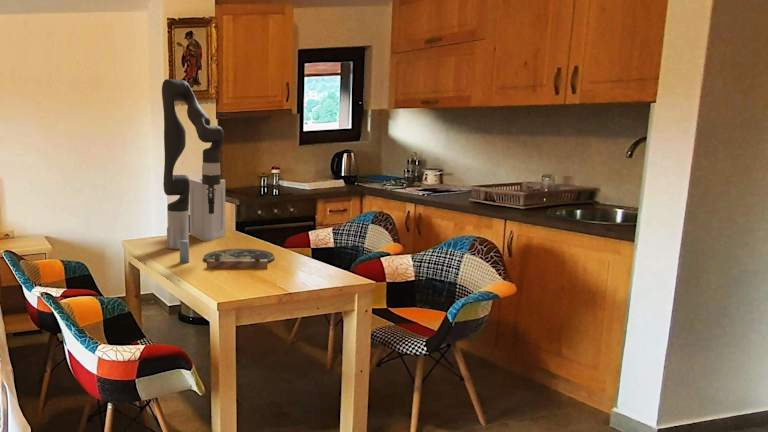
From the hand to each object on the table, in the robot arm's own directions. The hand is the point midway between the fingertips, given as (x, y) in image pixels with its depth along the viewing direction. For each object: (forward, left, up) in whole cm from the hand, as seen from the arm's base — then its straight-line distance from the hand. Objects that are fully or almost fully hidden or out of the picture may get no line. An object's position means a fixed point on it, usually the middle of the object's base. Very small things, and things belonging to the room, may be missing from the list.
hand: (211, 213), depth 293 cm
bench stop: (+12, -20, -19) cm, 30 cm away
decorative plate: (+12, -4, -20) cm, 23 cm away
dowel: (-10, -10, -19) cm, 24 cm away
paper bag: (-4, +48, -19) cm, 52 cm away
